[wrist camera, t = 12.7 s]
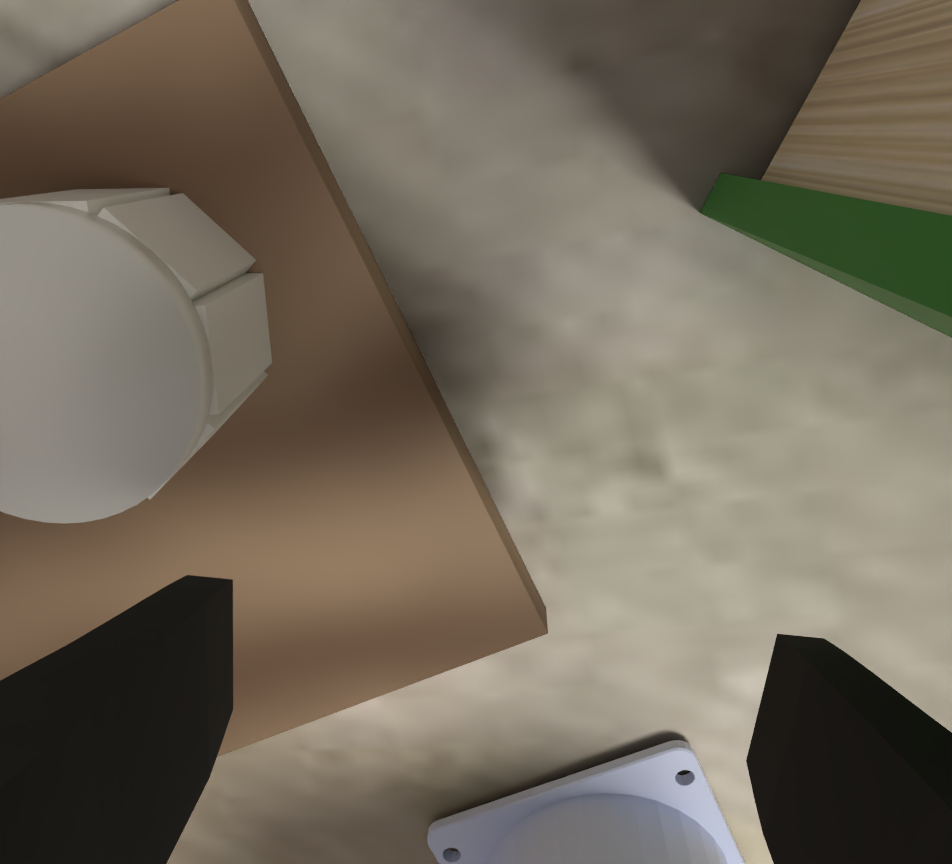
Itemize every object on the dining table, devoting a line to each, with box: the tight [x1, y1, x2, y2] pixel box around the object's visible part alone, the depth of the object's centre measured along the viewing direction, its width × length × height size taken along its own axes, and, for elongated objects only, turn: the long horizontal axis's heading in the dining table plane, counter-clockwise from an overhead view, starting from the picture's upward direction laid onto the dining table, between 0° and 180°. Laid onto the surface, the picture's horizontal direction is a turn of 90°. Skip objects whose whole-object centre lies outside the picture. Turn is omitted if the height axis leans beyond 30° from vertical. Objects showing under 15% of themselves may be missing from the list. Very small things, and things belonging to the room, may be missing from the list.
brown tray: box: [0, 0, 548, 756], centre depth 19 cm, size 16×18×4 cm
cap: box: [0, 188, 272, 524], centre depth 17 cm, size 6×6×4 cm
